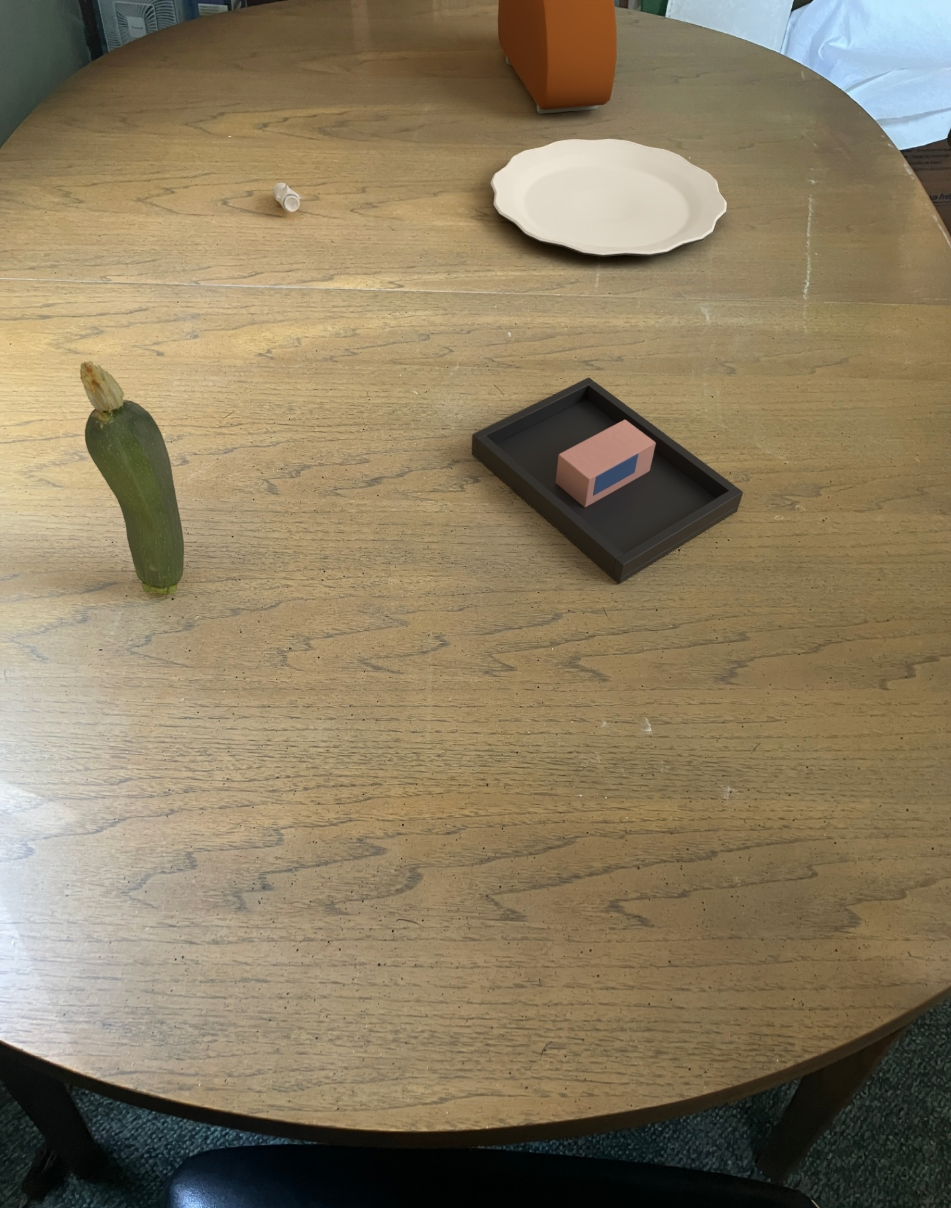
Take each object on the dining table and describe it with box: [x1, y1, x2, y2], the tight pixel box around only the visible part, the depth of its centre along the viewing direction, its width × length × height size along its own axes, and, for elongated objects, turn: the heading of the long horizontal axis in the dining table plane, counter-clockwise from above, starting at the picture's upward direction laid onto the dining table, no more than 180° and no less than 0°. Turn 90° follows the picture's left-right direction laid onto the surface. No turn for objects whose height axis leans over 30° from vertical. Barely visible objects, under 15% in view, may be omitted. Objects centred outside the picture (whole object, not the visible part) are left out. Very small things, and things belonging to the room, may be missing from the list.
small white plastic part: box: [272, 182, 302, 213], centre depth 101 cm, size 4×6×3 cm, turn 177°
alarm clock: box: [497, 0, 618, 115], centre depth 117 cm, size 23×9×17 cm, turn 13°
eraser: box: [556, 420, 656, 507], centre depth 74 cm, size 4×7×3 cm, turn 128°
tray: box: [471, 376, 744, 585], centre depth 75 cm, size 18×13×2 cm
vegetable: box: [79, 360, 185, 595], centre depth 60 cm, size 4×4×20 cm
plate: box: [489, 138, 728, 258], centre depth 103 cm, size 25×25×2 cm
